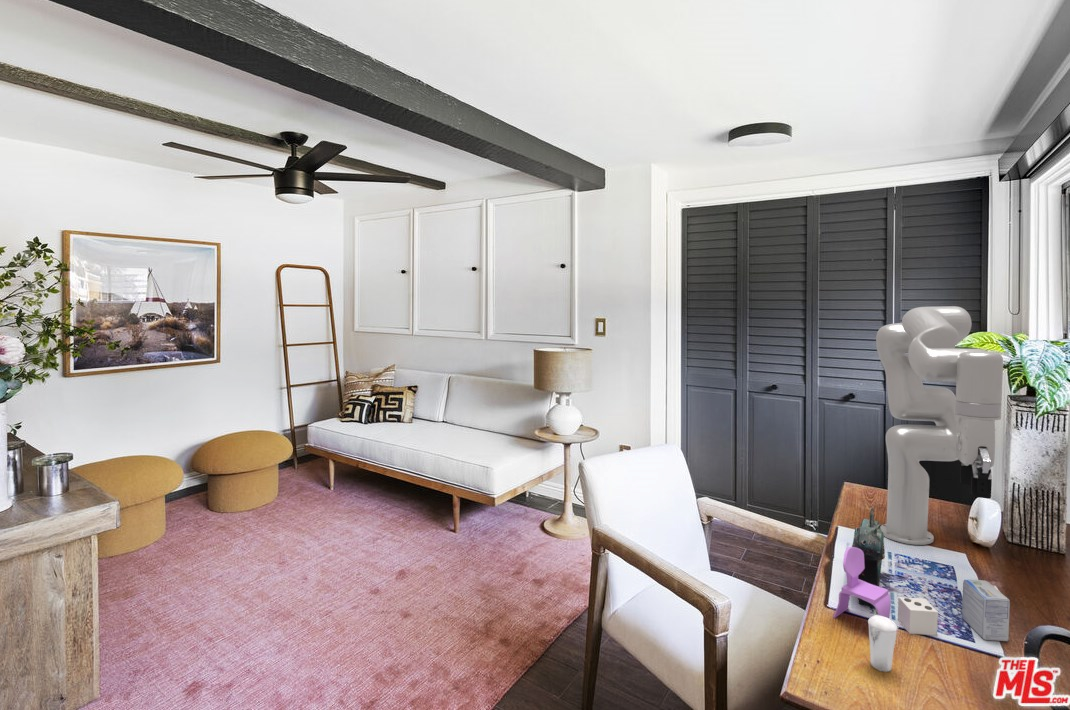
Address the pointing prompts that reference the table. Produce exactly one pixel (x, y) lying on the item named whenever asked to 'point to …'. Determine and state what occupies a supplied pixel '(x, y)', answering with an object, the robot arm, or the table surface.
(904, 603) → the dotted block three
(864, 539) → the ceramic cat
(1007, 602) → the medicine box
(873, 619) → the milkshake
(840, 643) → the table surface
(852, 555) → the toy chair
